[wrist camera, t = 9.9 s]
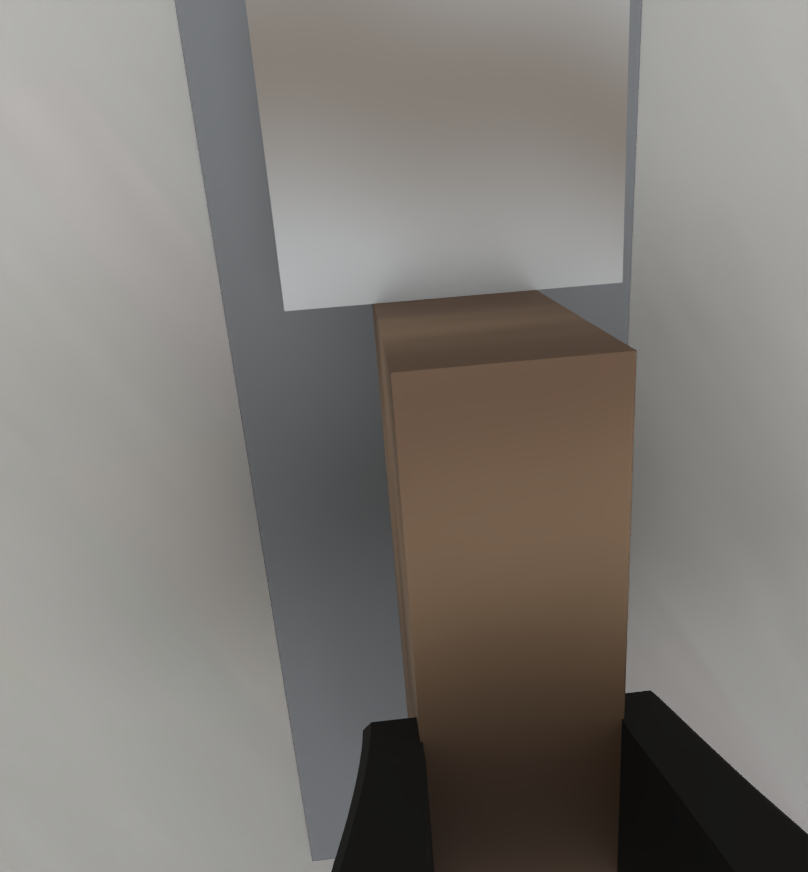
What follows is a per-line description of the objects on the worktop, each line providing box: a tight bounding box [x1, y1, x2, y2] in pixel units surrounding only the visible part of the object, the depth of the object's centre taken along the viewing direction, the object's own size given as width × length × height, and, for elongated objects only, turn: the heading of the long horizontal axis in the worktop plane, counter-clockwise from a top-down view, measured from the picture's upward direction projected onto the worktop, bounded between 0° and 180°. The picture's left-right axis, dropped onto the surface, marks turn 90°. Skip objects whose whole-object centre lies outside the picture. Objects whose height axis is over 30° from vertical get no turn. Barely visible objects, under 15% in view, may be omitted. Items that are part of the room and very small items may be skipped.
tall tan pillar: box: [245, 0, 636, 872], centre depth 11 cm, size 16×5×5 cm, turn 4°
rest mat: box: [175, 0, 642, 861], centre depth 16 cm, size 21×8×1 cm, turn 4°
